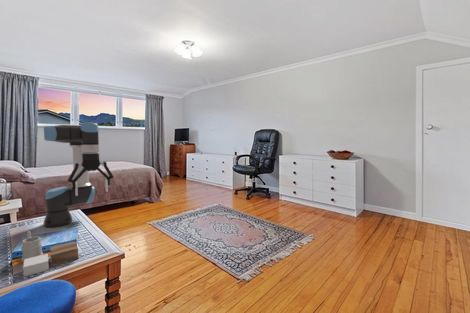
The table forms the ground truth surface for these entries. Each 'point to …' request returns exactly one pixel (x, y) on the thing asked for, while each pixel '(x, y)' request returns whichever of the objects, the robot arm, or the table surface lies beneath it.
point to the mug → (31, 247)
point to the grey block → (35, 264)
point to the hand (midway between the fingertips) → (92, 193)
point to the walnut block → (64, 253)
